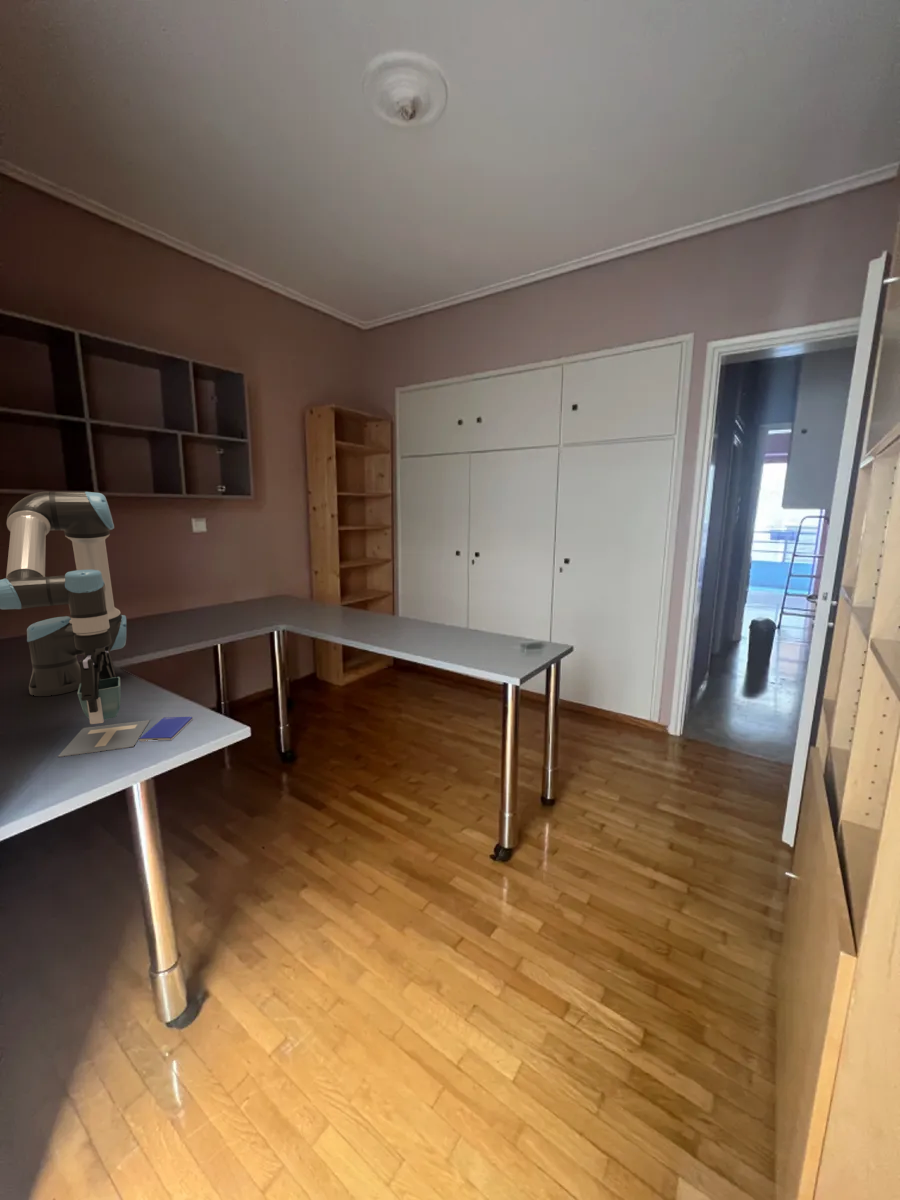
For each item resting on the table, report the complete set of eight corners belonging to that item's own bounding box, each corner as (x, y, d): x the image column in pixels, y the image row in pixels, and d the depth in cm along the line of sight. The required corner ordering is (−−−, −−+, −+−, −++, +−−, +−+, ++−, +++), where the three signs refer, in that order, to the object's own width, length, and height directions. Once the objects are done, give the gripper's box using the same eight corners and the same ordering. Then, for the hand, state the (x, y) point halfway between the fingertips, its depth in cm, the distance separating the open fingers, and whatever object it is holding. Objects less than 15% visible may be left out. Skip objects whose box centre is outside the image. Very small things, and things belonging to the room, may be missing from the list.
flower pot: (82, 727, 121) (76, 693, 119) (84, 715, 128) (79, 682, 126) (124, 719, 126) (119, 686, 124) (124, 707, 133) (120, 676, 131)
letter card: (83, 728, 133) (82, 727, 133) (149, 720, 138) (149, 719, 138) (57, 757, 118) (57, 756, 118) (133, 747, 123) (133, 746, 123)
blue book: (162, 717, 138) (138, 738, 126) (192, 716, 139) (170, 736, 127) (163, 722, 139) (139, 743, 126) (193, 721, 139) (171, 742, 127)
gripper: (90, 622, 132) (101, 700, 136) (54, 644, 111) (69, 735, 115) (122, 620, 134) (132, 697, 138) (93, 641, 113) (106, 731, 118)
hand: (104, 714), depth 127 cm, fingers closed on flower pot, 9 cm apart
